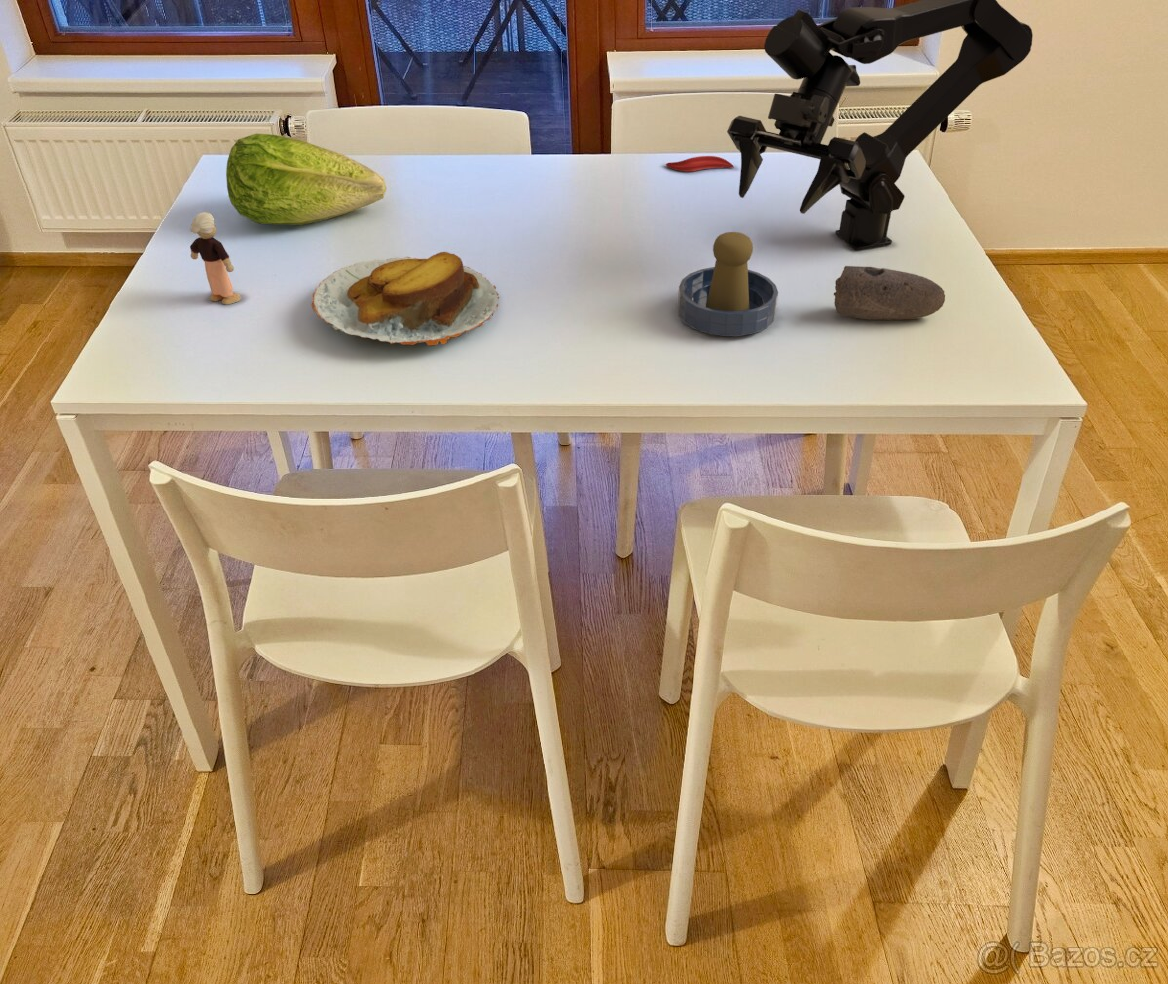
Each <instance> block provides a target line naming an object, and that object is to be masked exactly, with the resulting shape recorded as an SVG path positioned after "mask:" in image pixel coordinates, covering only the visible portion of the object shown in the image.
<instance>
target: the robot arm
mask: <svg viewBox="0 0 1168 984" xmlns="http://www.w3.org/2000/svg"><path fill="white" fill-rule="evenodd" d="M956 28H961V29H962V30H963V32H964V33H965V34H966V36H965V37H964V38H963V40H962V43H961V45H960V49H959V52H958V55H957V58H956V60H955V61H954V62H953V63H952V64H951V65H950V66H949V67H948V68H947V69H946V70H944V72H943V73H942V74H940V76H939V77H938V78H937V79H936V80H935V81H934V82H933V83H932V84H931V85H930V86H929V87H928V88H926V90H925V91H924V92H923V93H922V94H921V95H920V96H919V97H917V99H916V100H914V102H912V103H911V105H910V106H909V107H908V108H906V110H905V111H903V112H902V114H900V115H899V116H898V117H897V118H896V120H894V121H893V122H892V123H891V124H890V125H889V126H888V128H886V129H885V130H884V131H883V132H881V133H879V134H877V135H874V136H873V135H870V134H869V133H867V132H862V133H860V135H858V136H857V138H855V140H850V139H846V138H841V137H836V136H833V137H832V138H830V140H829V142H828V144H825V143H822V141H823V139H824V136H825V134H826V133H827V130H828V128H829V127H831V128H832V127H833V125H834V122H835V117H834V114H835V112H836V110H837V107H838V105H839V103H840V101H841V99H842V96H843V94H844V91H845V89H846V87H859V86H860V85H861V78H860V75H859V74H858V72H857V65H855V64H849V63H848V62H846V60H845V59H844V58H847V59H848V58H850V59H851V60H854V61H855V62H858V63H860V64H863V65H870V64H873V63H875V62H877V61H879V60H881V59H884V58H885V57H888V56H890V55H892V53H893V52H895V50H896V49H897V48H898V47H899V46H900V45H902V44H904V43H906V42H910V41H914V40H917V39H919V38H924V37H927V36H931V35H935V34H939V33H942V32H943V33H944V32H945V31H950V30H952V29H956ZM1033 36H1034V33H1033V30H1032V28H1031V26H1030V25H1029V24H1026V23H1024V22H1022V21H1019V20H1018V18H1016V17H1015V16H1014V15H1013V14H1011V13H1010V12H1009V11H1008V10H1007V9H1005V8H1004V7H1003V6H1002V5H1001V4H1000V3H999V2H998V1H997V0H918V1H915V2H914V1H913V2H911V3H907V4H904V5H900V6H896V7H888V8H886V7H875V6H874V7H873V6H861V7H860V6H859V7H847V8H845V9H843V10H841V11H840V12H839V13H838V14H837V17H836V18H833V19H831V20H828V21H826V22H823V23H821V24H818V25H817V23H816V22H815V20H814V17H812V16H811V14H810V13H809V12H807V11H805V10H803V9H801V8H798V9H797V10H796V11H795V13H794V14H793V15H792V16H788V17H786V18H784V19H782V20H781V21H779V22H778V23H777V24H776V25H773V27H772V28H771V29H770V31H769V32H768V34H767V36H766V38H765V39H764V40H765V42H764V45H763V46H764V47H763V48H764V53H766V55H768V57H770V58H771V60H773V61H774V62H775V64H777V66H779V67H780V68H781V69H782V70H783V71H784V72H785V73H786V74H787V75H788V77H790V78H791V79H793V80H797V81H798V80H802V81H801V83H800V85H799V88H798V90H797V91H792V93H791V94H790V95H785V94H780V93H773V94H774V95H773V98H772V101H771V106H770V109H769V112H768V116H767V119H768V120H775V121H774V123H773V125H774V127H775V129H777V130H779V133H775V132H772V131H768V130H767V129H766V128H765V126H764V123H763V121H762V120H761V119H756V118H752V117H747V116H743V115H738V116H736V117H734V118H733V119H732V120H731V122H730V123H729V126H728V127H727V130H726V132H727V134H728V136H729V138H730V139H731V141H732V143H733V145H734V146H735V148H736V149H737V150H738V151H739V153H740V160H741V161H740V173H739V174H740V175H739V187H738V196H739V197H740V198H741V199H743V198H745V196H746V195H747V193H748V192H749V190H750V188H751V185H752V184H753V182H754V180H755V177H756V176H757V173H758V171H759V169H760V168H761V165H762V163H763V162H764V159H763V156H762V154H764V153H766V150H767V148H770V149H775V150H779V151H783V152H787V153H790V154H791V153H792V154H796V155H800V156H803V157H809V158H813V159H818V160H819V164H818V168H817V171H816V174H815V176H814V177H813V179H812V182H811V183H810V185H809V187H808V189H807V191H806V193H805V195H804V197H803V199H802V202H801V205H800V207H799V212H800V214H802V215H805V213H806V212H808V211H809V210H810V209H811V208H812V207H813V206H814V205H815V204H816V203H817V202H819V200H821V199H822V198H823V197H824V196H825V195H827V194H828V193H829V192H830V191H832V190H834V189H835V188H836V187H837V186H839V189H840V194H842V195H844V196H846V197H847V198H849V199H845V200H846V201H845V206H844V210H842V212H841V218H840V223H839V229H836V230H835V232H834V234H835V235H836V236H837V237H838V238H839V239H841V240H842V241H843V242H844V243H845V244H846V245H848V246H849V247H850V248H851V249H853V250H855V251H862V250H866V249H867V250H868V249H873V248H879V247H885V246H890V245H892V243H893V240H892V238H891V239H890V238H889V237H888V231H889V226H890V220H891V214H892V212H893V211H898V210H899V209H900V208H901V206H902V204H903V201H904V200H905V198H906V197H905V194H904V193H903V192H902V191H901V189H900V188H899V187H898V186H897V185H896V182H897V181H898V180H899V179H900V177H901V174H902V171H903V168H904V165H905V162H906V160H907V157H908V156H909V155H910V154H911V153H912V152H913V151H914V150H915V149H916V148H917V147H918V146H919V145H920V144H922V142H923V141H924V140H926V139H927V137H929V136H930V135H931V134H932V132H934V130H935V129H937V127H939V126H940V125H941V124H942V123H943V122H944V121H945V120H946V119H947V118H948V117H949V116H950V115H951V114H952V113H953V112H954V111H955V110H956V109H957V108H958V107H959V106H960V105H961V104H962V103H963V102H965V100H966V99H967V98H968V97H970V95H971V94H972V93H973V92H974V91H976V89H978V88H979V86H981V85H982V84H984V83H987V82H989V81H992V80H995V79H998V78H1000V77H1003V76H1005V75H1006V74H1008V73H1009V72H1010V71H1012V70H1013V69H1014V68H1016V67H1017V66H1018V65H1020V64H1021V63H1022V62H1023V61H1024V60H1025V59H1026V58H1027V57H1028V55H1029V54H1030V52H1031V50H1032V46H1033ZM831 51H832V52H833V53H836V54H838V55H836V54H833V53H831ZM843 57H844V58H843Z"/></svg>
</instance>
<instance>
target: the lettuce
mask: <svg viewBox="0 0 1168 984" xmlns="http://www.w3.org/2000/svg"><path fill="white" fill-rule="evenodd" d="M226 162H227V163H226V168H225V169H226V171H225V177H226V189H227V194H228V199H229V202H230V204H231V205H232V206H233V208H234V209H235V210H236V211H237V213H238V214H239V216H242V217H244V218H246V219H248V220H251V221H253V222H254V223H257V224H260V225H275V226H277V225H278V226H303V225H308V224H312V223H317V222H320V221H321V222H322V221H325V220H328V219H332V218H336V217H339V216H342V215H345V214H348V213H351V212H354V211H356V210H359V209H361V208H364V207H366V206H370V205H371V204H374V203H376V202H378V201H380V200H382V199H384V196H385V193H386V191H387V184H386V182H385V178H384V177H383V176H382V175H380V174H379V173H378V172H376V171H374V170H373V169H372V168H370V167H368V166H366V165H364V164H362V163H360V162H359V161H357V160H356V159H353V158H352V157H351V158H350V157H349V156H347V155H345V154H343V153H340V152H337V151H333V150H330V149H328V148H324V147H322V146H319V145H317V144H313V143H311V142H308V141H305V140H301V139H296V138H292V137H287V136H283V135H279V134H270V133H254V134H250V135H248V136H244V137H241V138H238V139H237V140H236V141H235V143H234V144H233V145H232V147H231V148H230V151H229V154H228V157H227V161H226Z"/></svg>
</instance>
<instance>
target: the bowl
mask: <svg viewBox="0 0 1168 984" xmlns="http://www.w3.org/2000/svg"><path fill="white" fill-rule="evenodd" d="M714 268H715V266H712V267H707V268H701V269H698V270H696V271H692V272H690V273H689V274H687V275H686V276H685V277H683V279H681V281H680V283H679V285H678V296H677V312H678V317H679V318H680V319H681V320H682V321H683V322H684V324H685V325H687V326H689V327H691V328H692V329H694V330H696V331H699V332H703V333H706V334H709V335H715V336H721V337H742V336H747V335H752V334H756V333H759V332H761V331H764V330H765V329H768V327H769V326H770V325H772V323H773V322H774V320H775V317H776V313H777V305H778V299H779V298H778V297H779V290H778V287H777V285H776V283H774V282H773V281H772V280H771V279H770V278H769V277H768V276H766V275H763V274H761V273H760V272H757V271H754V270H751V269H748V290H749V310H746V311H730V312H727V311H720V310H713V309H710V308H706V303H707V299H708V294H709V290H710V286H711V281H712V277H713V272H714Z"/></svg>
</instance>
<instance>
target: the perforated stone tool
mask: <svg viewBox="0 0 1168 984" xmlns="http://www.w3.org/2000/svg"><path fill="white" fill-rule="evenodd" d="M834 289H835V291H834V292H833V294H832V295H833V296H834V303H833V304H834V308H835V311H836V313H838V315H840V316H843V317H848V318H849V317H850V318H855V319H859V320H860V319H861V320H880V321H881V320H885V321H887V320H888V321H889V320H890V321H894V320H897V321H898V320H901V321H902V320H915V319H921V318H925V317H928V316H931V315H933V314H935V313H936V312H938V311H940V309H941V308H942V307H944V304H945V302H946V294H945V290H944V289H943V287H941V285H939V284H938V283H936V282H935V281H933V280H931V279H929V278H927V277H924V276H921V275H918V274H916V273H912V272H911V273H910V272H906V271H901V270H895V269H889V268H885V267H882V268H879V267H874V266H860V265H858V266H857V265H856V266H855V265H844V267H843V270H842V272H841V275H840V276H839V277H838V278H836V280H835V286H834Z"/></svg>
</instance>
